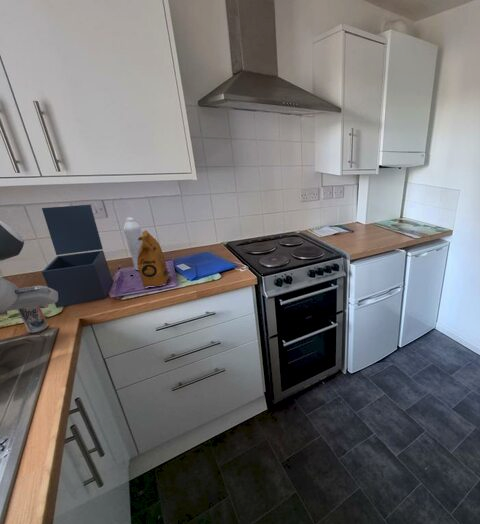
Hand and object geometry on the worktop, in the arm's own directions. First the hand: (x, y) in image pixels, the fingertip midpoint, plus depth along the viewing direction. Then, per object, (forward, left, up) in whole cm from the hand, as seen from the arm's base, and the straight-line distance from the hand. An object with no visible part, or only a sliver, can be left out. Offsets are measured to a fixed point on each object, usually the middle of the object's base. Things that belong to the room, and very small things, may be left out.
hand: (25, 309), depth 92 cm
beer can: (0, +2, -9) cm, 9 cm away
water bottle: (+26, +44, -9) cm, 52 cm away
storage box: (+8, +26, -9) cm, 29 cm away
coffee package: (+32, +24, -9) cm, 41 cm away
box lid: (+8, +36, +15) cm, 40 cm away
